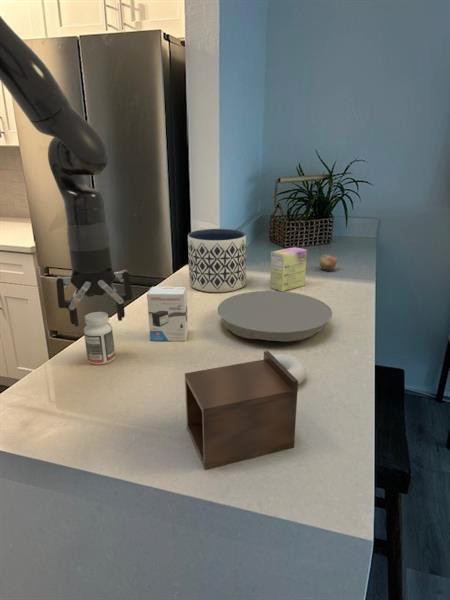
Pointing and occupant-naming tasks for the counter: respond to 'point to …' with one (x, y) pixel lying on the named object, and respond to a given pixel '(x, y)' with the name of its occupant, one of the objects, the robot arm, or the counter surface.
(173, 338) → the ink box
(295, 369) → the donut
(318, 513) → the counter surface
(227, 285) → the planter
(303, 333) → the flat disc
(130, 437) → the counter surface
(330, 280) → the counter surface
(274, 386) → the open wooden cube
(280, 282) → the box
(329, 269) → the apple
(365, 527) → the counter surface
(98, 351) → the pill bottle
